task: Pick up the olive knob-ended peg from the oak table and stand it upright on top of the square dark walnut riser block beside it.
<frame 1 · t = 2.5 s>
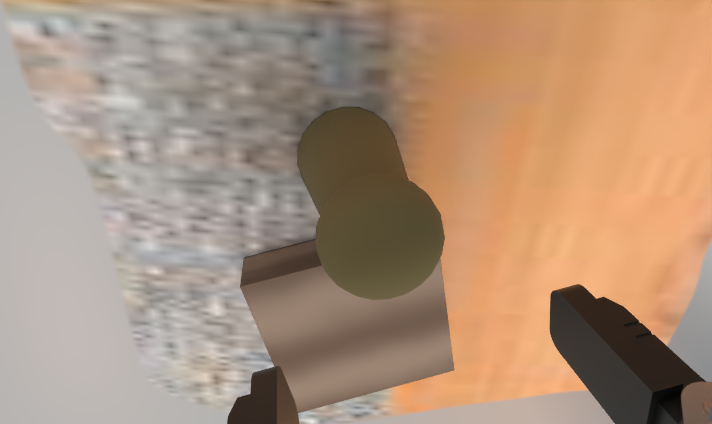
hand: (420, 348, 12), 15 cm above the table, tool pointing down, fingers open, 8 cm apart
walnut riser: (352, 303, 31), on the table
olive knob-ended peg: (347, 156, 26), on the table
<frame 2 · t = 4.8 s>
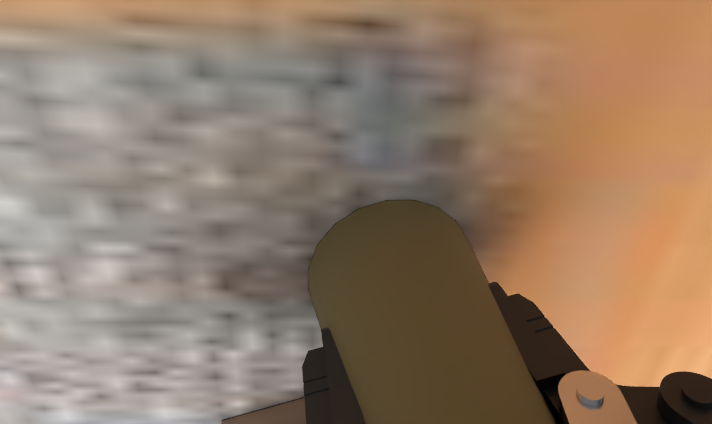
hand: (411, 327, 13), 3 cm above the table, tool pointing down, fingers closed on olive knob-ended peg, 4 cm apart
olive knob-ended peg: (389, 271, 16), on the table, touching gripper
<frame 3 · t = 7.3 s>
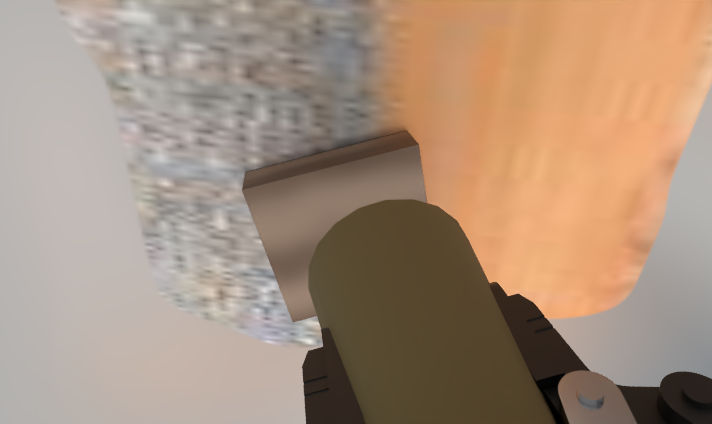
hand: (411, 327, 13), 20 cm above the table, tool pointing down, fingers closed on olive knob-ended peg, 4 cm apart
walnut riser: (344, 221, 34), on the table
olive knob-ended peg: (389, 270, 16), point 17 cm above the table, touching gripper
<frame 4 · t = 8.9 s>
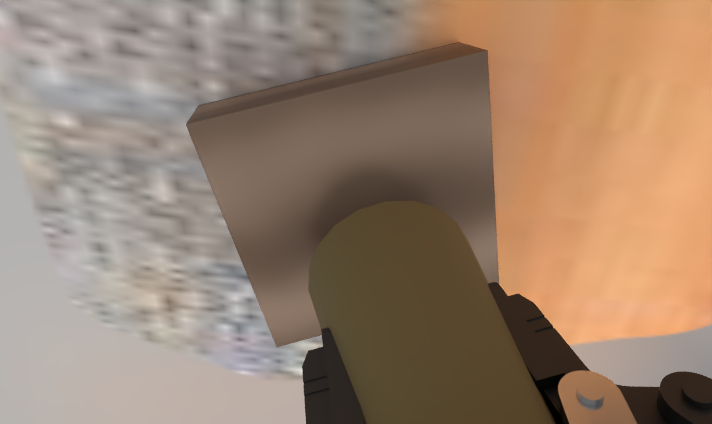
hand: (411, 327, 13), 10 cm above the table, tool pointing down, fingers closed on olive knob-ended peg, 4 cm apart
walnut riser: (357, 191, 22), on the table
olive knob-ended peg: (390, 272, 16), point 7 cm above the table, touching gripper
when the fingers open (7 cm above the table, at t = 10.3 s): olive knob-ended peg stays where it is, resting on walnut riser.
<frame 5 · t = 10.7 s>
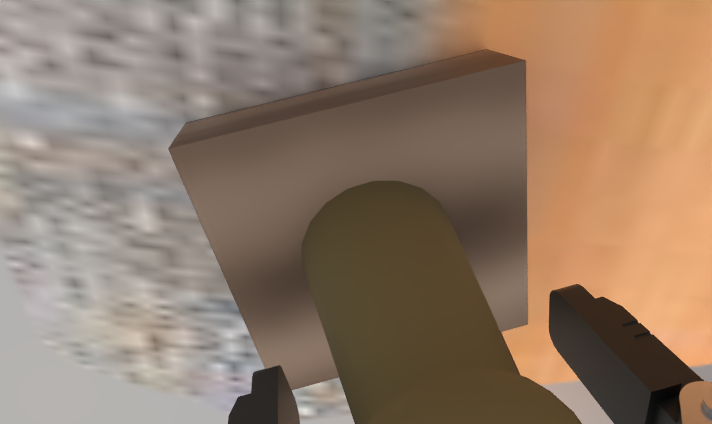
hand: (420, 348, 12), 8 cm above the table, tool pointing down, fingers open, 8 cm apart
walnut riser: (367, 217, 19), on the table
olive knob-ended peg: (377, 248, 17), point 3 cm above the table, touching walnut riser
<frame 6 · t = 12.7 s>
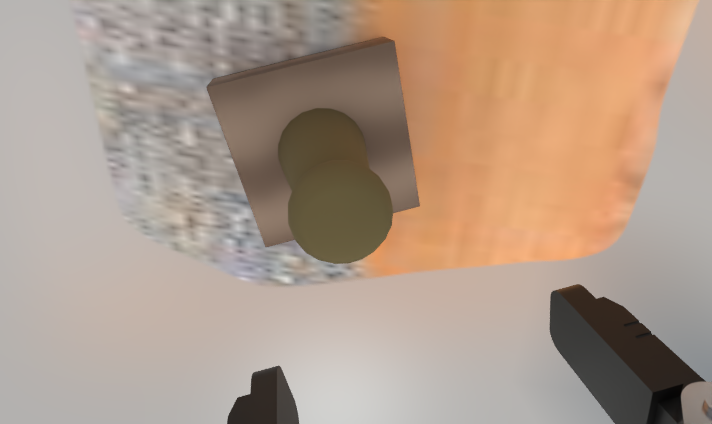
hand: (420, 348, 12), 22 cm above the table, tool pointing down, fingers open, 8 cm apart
walnut riser: (320, 140, 32), on the table
olive knob-ended peg: (322, 150, 30), point 3 cm above the table, touching walnut riser
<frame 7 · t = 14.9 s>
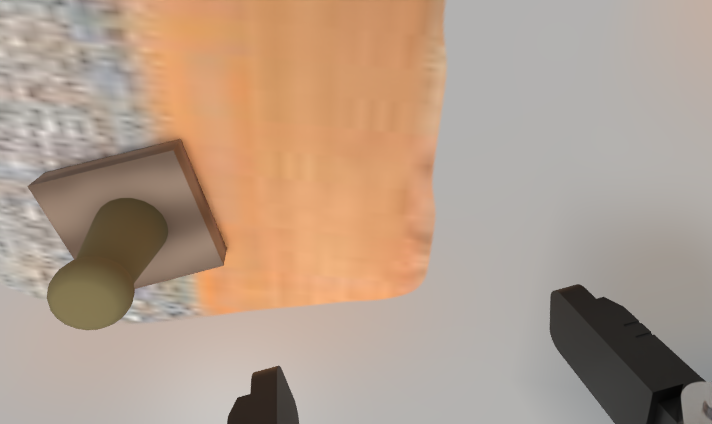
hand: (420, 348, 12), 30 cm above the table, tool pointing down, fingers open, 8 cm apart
walnut riser: (142, 213, 41), on the table
olive knob-ended peg: (132, 227, 38), point 3 cm above the table, touching walnut riser
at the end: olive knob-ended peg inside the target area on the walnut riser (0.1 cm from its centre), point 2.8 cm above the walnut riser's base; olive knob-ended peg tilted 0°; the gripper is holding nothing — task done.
